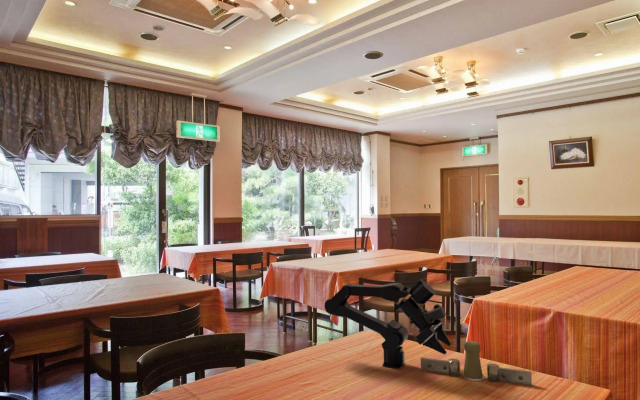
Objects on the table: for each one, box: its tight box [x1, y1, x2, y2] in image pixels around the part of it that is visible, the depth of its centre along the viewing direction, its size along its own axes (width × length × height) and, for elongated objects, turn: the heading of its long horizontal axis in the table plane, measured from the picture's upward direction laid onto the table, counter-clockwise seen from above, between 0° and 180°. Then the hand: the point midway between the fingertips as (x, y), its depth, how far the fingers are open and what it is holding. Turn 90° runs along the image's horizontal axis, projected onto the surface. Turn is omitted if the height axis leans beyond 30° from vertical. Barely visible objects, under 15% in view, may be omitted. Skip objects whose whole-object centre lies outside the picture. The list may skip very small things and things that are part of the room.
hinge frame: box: [420, 357, 533, 387], centre depth 136 cm, size 34×7×4 cm, turn 66°
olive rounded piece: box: [462, 340, 483, 379], centre depth 136 cm, size 6×6×11 cm
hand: (448, 349), depth 140 cm, fingers open, 9 cm apart
